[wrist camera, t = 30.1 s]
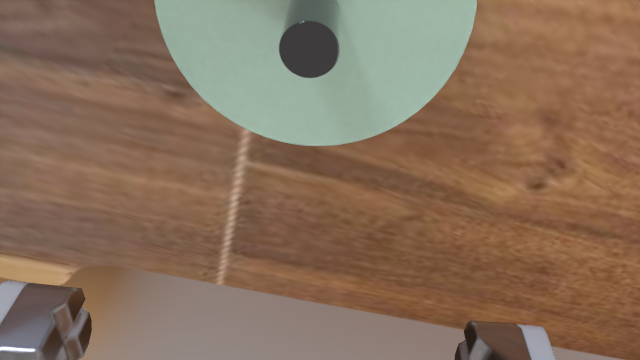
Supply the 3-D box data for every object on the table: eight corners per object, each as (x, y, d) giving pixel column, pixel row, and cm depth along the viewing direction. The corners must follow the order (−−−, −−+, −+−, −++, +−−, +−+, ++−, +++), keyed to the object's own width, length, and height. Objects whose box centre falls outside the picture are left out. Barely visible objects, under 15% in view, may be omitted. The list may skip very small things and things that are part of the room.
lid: (432, 149, 32) (446, 209, 28) (170, 121, 32) (141, 178, 27) (518, -158, 22) (561, -141, 18) (143, -206, 22) (92, -200, 17)
